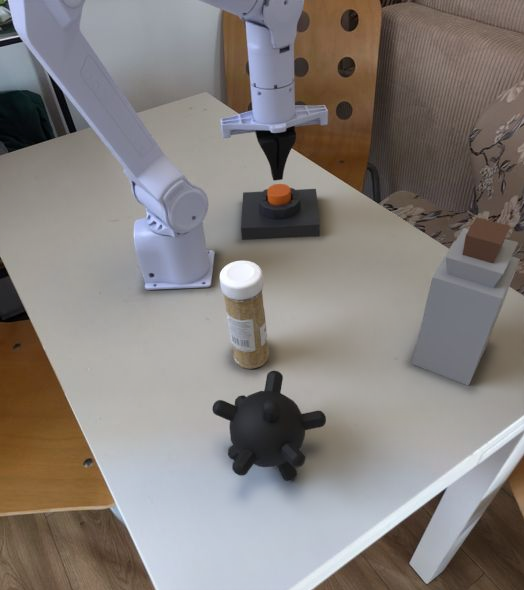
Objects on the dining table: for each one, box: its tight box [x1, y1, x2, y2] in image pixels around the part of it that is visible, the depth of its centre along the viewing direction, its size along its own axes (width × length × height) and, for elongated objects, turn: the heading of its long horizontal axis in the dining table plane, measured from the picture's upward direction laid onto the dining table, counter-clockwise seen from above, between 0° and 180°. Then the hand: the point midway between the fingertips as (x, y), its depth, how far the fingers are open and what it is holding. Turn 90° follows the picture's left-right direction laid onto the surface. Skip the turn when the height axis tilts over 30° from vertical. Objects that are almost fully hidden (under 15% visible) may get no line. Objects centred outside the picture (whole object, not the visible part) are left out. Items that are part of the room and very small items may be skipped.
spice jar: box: [219, 260, 270, 370], centre depth 59 cm, size 5×5×13 cm
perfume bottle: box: [411, 216, 521, 386], centre depth 56 cm, size 7×7×18 cm
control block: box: [240, 187, 321, 241], centre depth 82 cm, size 12×10×4 cm
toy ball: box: [212, 370, 327, 482], centre depth 52 cm, size 11×11×12 cm
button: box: [267, 183, 291, 205], centre depth 80 cm, size 4×4×2 cm
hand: (277, 176), depth 77 cm, fingers closed
